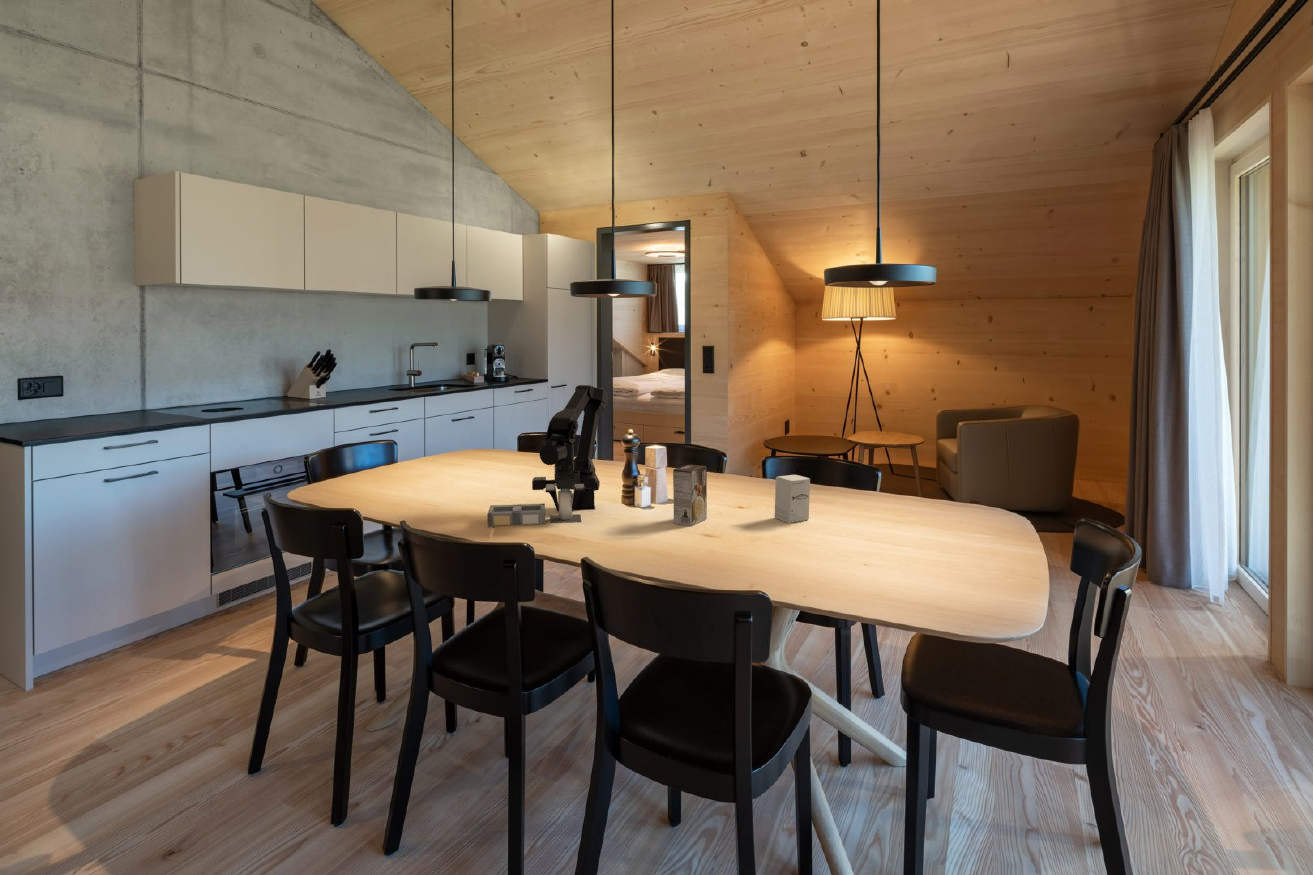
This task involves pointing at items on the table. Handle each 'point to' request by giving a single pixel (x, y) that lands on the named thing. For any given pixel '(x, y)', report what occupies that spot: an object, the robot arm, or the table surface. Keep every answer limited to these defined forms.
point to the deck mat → (556, 520)
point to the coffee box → (690, 494)
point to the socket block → (516, 515)
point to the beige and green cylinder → (565, 504)
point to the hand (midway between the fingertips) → (565, 511)
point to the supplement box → (792, 498)
